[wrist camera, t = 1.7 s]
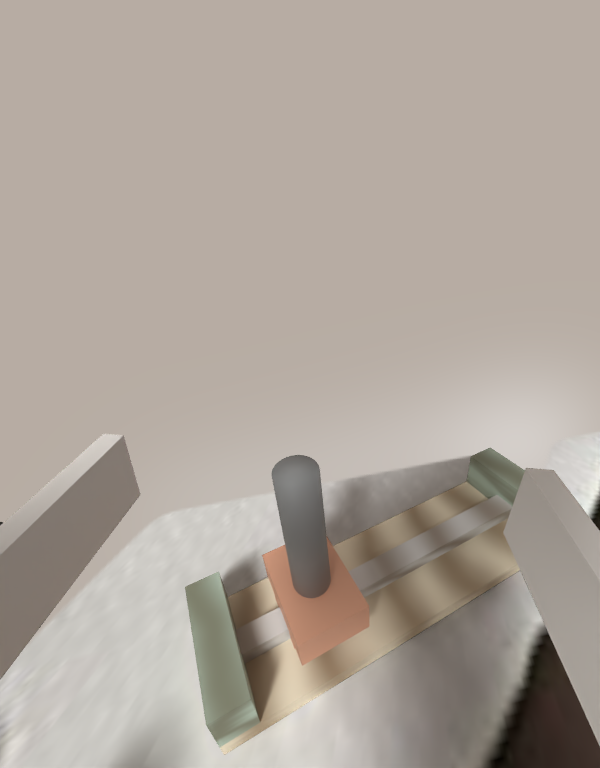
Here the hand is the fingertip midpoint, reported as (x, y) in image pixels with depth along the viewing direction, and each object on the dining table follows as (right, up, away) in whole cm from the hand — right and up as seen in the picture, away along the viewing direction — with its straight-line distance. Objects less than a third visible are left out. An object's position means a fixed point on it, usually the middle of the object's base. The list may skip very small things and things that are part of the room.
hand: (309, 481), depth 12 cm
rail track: (+9, -16, +23) cm, 29 cm away
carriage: (+1, -17, +19) cm, 26 cm away
